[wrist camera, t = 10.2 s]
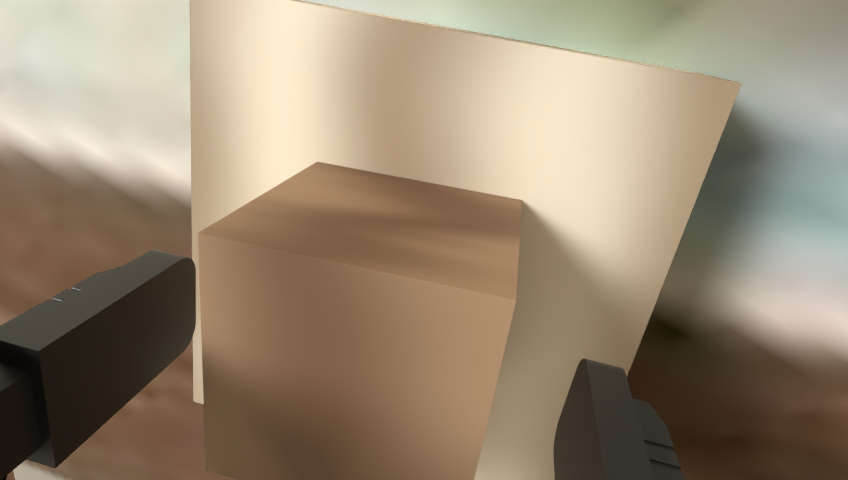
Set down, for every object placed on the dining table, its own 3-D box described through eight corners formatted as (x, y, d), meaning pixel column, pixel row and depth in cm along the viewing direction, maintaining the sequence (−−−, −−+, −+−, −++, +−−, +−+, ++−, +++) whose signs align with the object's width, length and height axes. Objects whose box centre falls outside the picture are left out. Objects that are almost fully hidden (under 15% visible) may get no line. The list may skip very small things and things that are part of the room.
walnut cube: (521, 199, 12) (516, 300, 8) (483, 375, 14) (460, 539, 10) (317, 161, 13) (197, 232, 8) (307, 334, 15) (205, 470, 10)
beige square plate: (687, 70, 14) (741, 83, 10) (567, 415, 19) (575, 507, 15) (270, -6, 15) (189, -18, 12) (255, 334, 20) (193, 401, 16)
